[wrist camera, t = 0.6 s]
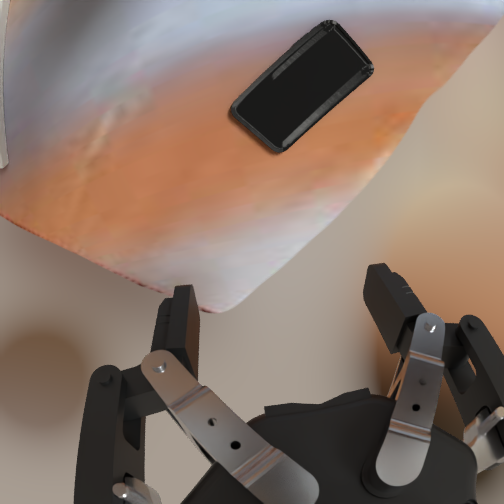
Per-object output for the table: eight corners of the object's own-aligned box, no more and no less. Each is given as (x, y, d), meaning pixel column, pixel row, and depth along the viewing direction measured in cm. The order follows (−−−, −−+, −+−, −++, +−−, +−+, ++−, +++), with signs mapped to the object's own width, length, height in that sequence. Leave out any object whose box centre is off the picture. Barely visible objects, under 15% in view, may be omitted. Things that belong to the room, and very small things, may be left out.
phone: (377, 70, 26) (279, 156, 32) (373, 68, 27) (278, 153, 33) (330, 15, 22) (225, 110, 28) (327, 15, 23) (225, 107, 29)
